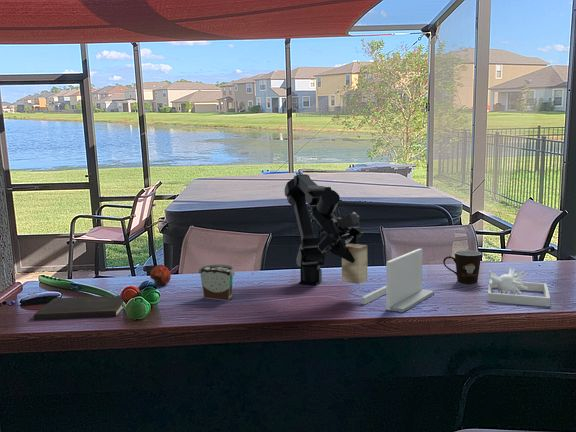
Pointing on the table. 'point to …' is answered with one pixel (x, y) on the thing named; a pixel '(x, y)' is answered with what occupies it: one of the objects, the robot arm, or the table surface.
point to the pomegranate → (160, 275)
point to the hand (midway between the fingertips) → (358, 260)
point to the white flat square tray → (522, 298)
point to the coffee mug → (466, 266)
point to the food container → (217, 281)
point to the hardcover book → (80, 308)
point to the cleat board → (402, 283)
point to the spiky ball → (507, 282)
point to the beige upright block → (355, 264)
